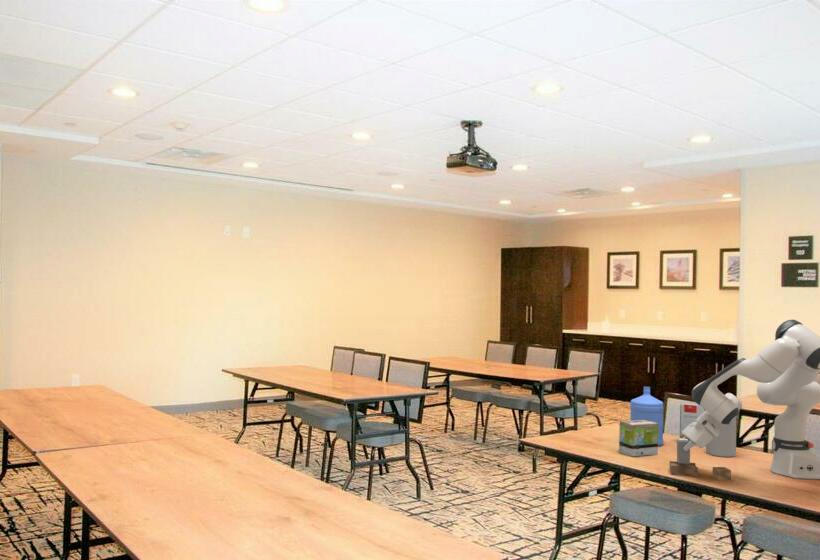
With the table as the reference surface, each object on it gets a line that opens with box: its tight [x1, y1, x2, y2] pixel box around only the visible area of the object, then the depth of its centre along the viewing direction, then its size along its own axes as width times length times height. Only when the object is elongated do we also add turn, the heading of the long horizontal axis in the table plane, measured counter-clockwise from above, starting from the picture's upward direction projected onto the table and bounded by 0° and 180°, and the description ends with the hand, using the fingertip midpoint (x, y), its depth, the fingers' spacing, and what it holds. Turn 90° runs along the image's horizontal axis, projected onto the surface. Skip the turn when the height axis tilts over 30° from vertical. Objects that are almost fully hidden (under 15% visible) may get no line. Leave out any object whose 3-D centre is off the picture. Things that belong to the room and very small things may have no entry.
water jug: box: [629, 386, 664, 447], centre depth 324 cm, size 16×16×28 cm
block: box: [712, 466, 732, 481], centre depth 262 cm, size 5×5×4 cm
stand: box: [669, 460, 699, 478], centre depth 269 cm, size 10×8×4 cm
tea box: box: [618, 420, 659, 457], centre depth 302 cm, size 15×10×15 cm
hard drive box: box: [679, 401, 706, 448], centre depth 324 cm, size 16×8×20 cm, turn 62°
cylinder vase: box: [705, 418, 737, 458], centre depth 303 cm, size 12×12×25 cm
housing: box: [676, 437, 691, 464], centre depth 269 cm, size 4×4×10 cm
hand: (682, 447), depth 269 cm, fingers closed on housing, 5 cm apart
